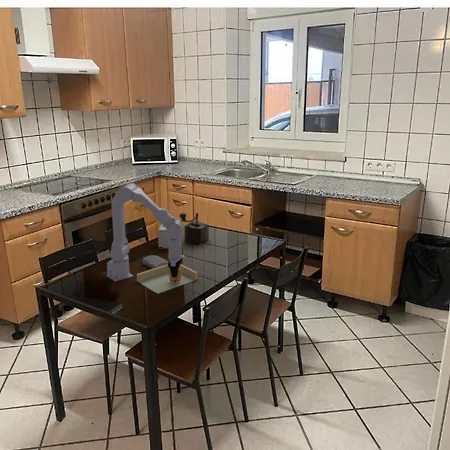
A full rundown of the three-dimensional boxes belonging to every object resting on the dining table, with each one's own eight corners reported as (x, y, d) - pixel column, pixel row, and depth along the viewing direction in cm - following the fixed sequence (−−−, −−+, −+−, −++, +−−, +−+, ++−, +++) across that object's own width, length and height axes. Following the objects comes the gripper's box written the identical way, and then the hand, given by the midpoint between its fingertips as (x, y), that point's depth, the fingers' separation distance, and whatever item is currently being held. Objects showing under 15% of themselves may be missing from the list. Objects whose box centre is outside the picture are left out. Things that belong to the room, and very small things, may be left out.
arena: (157, 294, 189) (157, 286, 187) (137, 282, 200) (136, 274, 198) (197, 280, 203) (197, 272, 202) (176, 269, 214) (175, 261, 213)
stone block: (156, 263, 226) (140, 264, 218) (158, 254, 225) (141, 255, 217) (171, 271, 218) (154, 273, 211) (172, 262, 217) (156, 263, 210)
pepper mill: (193, 236, 260) (193, 206, 254) (209, 239, 255) (209, 209, 249) (177, 244, 247) (177, 213, 241) (194, 248, 242) (194, 216, 236)
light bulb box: (161, 241, 250) (161, 223, 247) (173, 241, 250) (173, 223, 247) (158, 248, 240) (157, 229, 237) (170, 248, 240) (170, 229, 237)
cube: (180, 280, 199) (180, 269, 197) (169, 279, 199) (169, 269, 198) (181, 275, 204) (181, 265, 202) (170, 275, 204) (170, 264, 202)
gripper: (182, 253, 190) (182, 281, 194) (185, 241, 204) (185, 268, 208) (165, 252, 190) (166, 281, 194) (170, 240, 204) (170, 267, 208)
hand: (175, 274), depth 201 cm, fingers closed on cube, 5 cm apart
